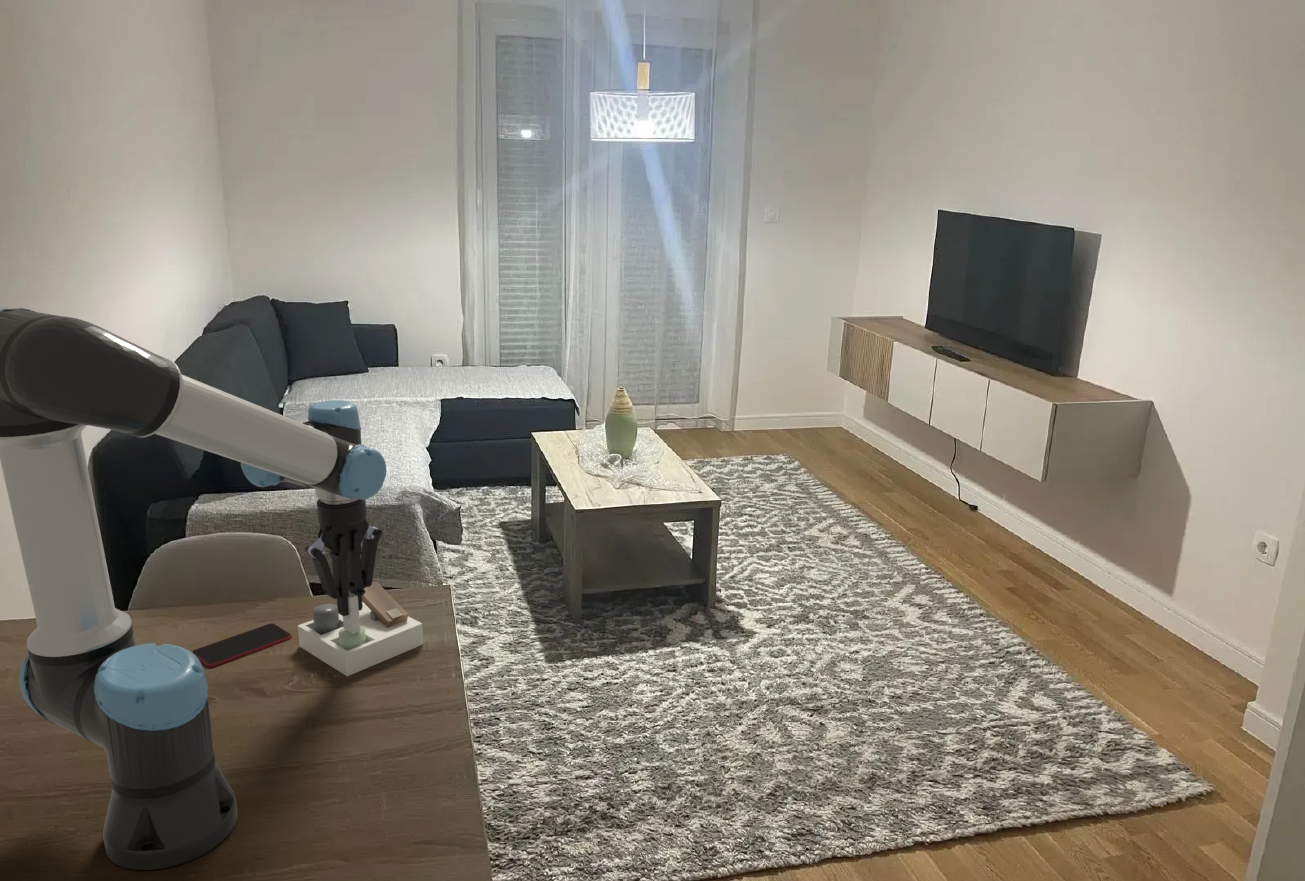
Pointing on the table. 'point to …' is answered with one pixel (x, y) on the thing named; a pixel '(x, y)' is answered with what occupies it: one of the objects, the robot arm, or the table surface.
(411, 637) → the panel
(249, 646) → the smartphone
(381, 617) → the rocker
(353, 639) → the button sage
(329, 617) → the button graphite
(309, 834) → the table surface
